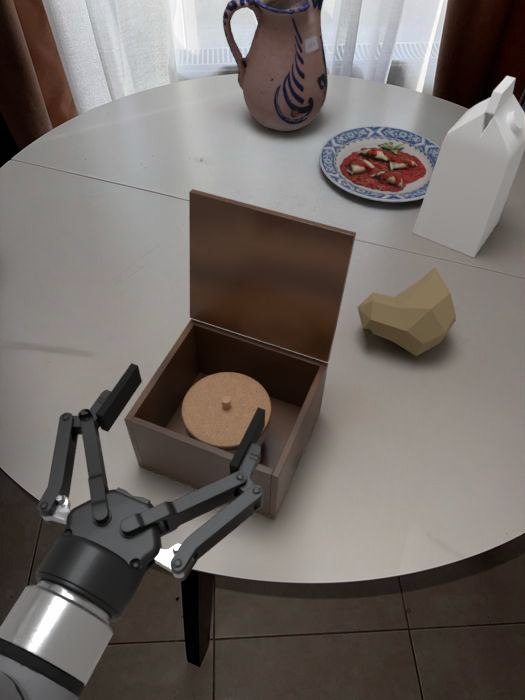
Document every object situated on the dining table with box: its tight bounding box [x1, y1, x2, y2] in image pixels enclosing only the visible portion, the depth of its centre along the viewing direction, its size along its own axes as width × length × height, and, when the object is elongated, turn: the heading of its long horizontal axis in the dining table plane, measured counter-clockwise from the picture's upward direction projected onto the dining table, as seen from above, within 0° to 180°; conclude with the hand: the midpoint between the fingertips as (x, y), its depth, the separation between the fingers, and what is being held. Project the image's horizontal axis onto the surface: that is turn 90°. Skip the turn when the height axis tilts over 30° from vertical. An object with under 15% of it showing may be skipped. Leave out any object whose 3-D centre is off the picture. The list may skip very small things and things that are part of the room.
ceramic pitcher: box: [222, 0, 329, 132], centre depth 117 cm, size 18×21×25 cm
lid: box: [188, 188, 357, 363], centre depth 66 cm, size 17×19×1 cm
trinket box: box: [181, 372, 272, 454], centre depth 71 cm, size 11×11×9 cm
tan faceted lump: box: [356, 266, 457, 357], centre depth 84 cm, size 15×11×12 cm
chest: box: [123, 318, 329, 521], centre depth 72 cm, size 17×19×11 cm
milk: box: [412, 75, 525, 259], centre depth 94 cm, size 12×12×26 cm
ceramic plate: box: [319, 126, 441, 203], centre depth 114 cm, size 26×26×3 cm
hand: (197, 393), depth 57 cm, fingers open, 13 cm apart
